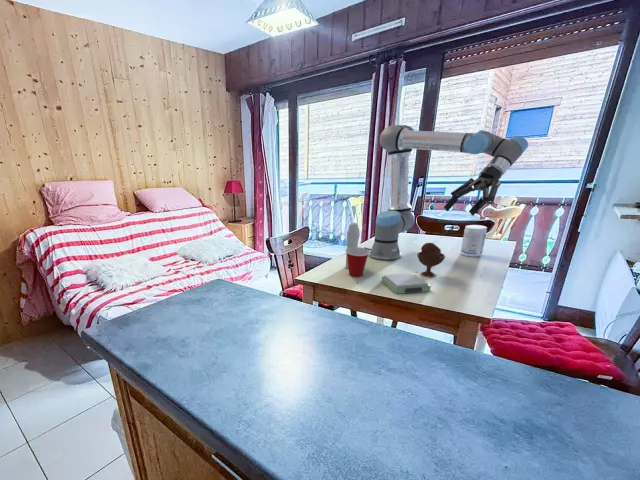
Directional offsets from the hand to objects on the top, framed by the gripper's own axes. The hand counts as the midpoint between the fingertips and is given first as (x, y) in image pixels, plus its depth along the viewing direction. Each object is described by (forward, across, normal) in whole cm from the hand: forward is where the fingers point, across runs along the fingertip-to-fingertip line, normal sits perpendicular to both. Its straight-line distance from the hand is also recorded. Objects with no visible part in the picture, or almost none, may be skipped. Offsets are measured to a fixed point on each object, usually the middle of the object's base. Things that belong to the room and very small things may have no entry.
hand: (457, 211), depth 139 cm
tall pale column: (+44, +24, +6) cm, 51 cm away
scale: (+39, -8, +1) cm, 40 cm away
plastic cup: (+48, +12, +9) cm, 50 cm away
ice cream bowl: (+27, 0, -12) cm, 30 cm away
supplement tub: (-1, +17, -40) cm, 44 cm away
